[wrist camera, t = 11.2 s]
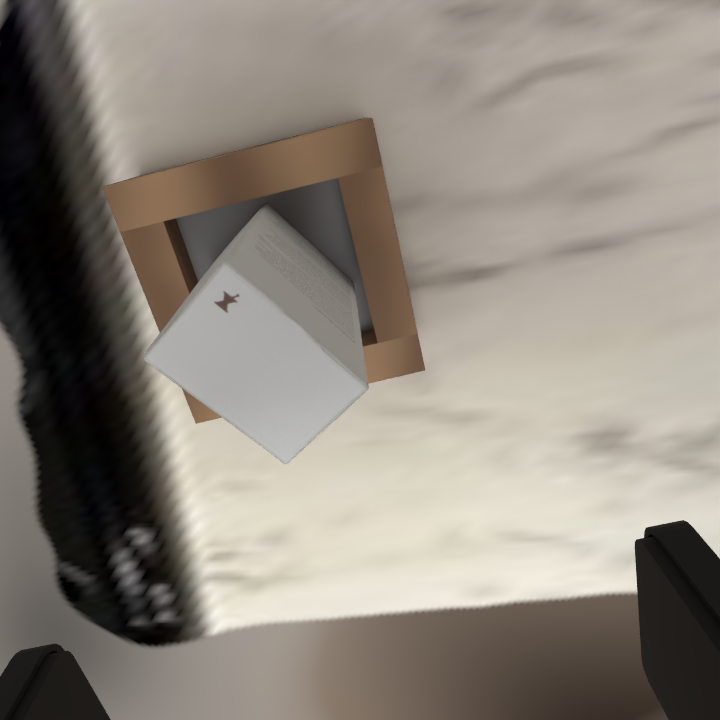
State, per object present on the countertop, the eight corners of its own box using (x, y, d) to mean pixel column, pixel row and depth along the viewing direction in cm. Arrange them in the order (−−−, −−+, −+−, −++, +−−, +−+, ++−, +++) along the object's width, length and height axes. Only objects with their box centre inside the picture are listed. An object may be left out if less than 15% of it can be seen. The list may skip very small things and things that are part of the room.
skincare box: (210, 264, 29) (133, 356, 18) (266, 200, 28) (222, 254, 16) (302, 343, 30) (285, 471, 19) (359, 285, 29) (375, 386, 18)
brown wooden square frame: (365, 118, 29) (372, 117, 25) (412, 334, 34) (425, 370, 29) (139, 176, 30) (102, 186, 25) (215, 381, 34) (195, 423, 30)
